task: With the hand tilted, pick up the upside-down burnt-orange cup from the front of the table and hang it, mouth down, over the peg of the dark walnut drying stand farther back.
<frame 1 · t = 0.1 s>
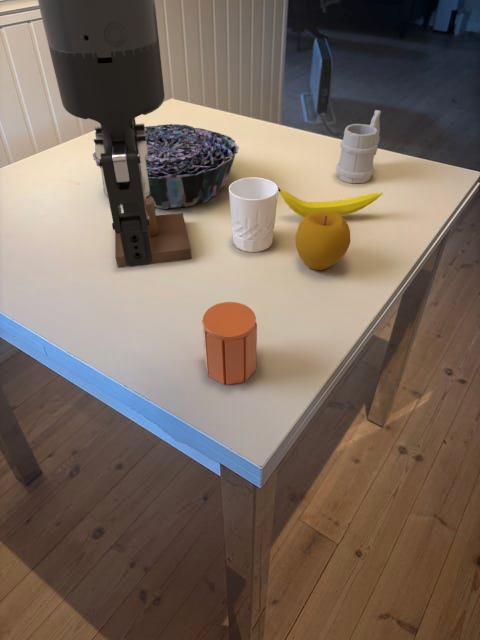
hand: (137, 237, 44), 22 cm above the table, tool pointing down, fingers open, 8 cm apart
banana: (326, 219, 90), on the table
white cup: (252, 242, 84), on the table
orange cup: (230, 365, 62), on the table
mug: (358, 174, 104), on the table
apple: (319, 266, 79), on the table
decorative bowl: (171, 187, 100), on the table
cup stand: (152, 243, 84), on the table
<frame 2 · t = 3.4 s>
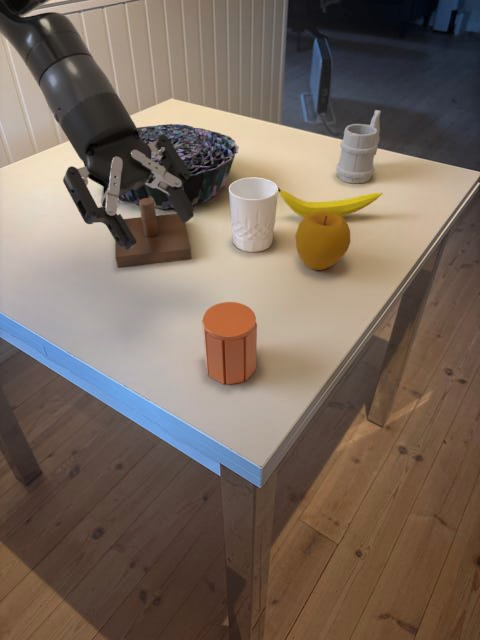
hand: (161, 232, 58), 15 cm above the table, tool tilted 45°, fingers open, 8 cm apart
nothing on the table moved.
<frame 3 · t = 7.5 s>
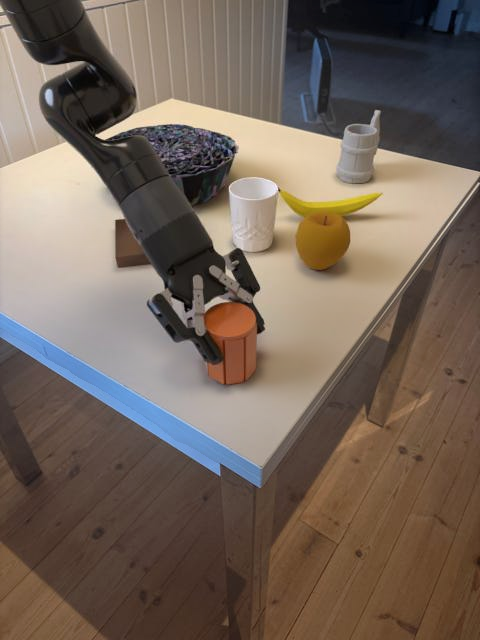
hand: (239, 347, 58), 4 cm above the table, tool tilted 45°, fingers closed on orange cup, 6 cm apart
orange cup: (230, 365, 62), on the table, touching gripper
everything else where it was.
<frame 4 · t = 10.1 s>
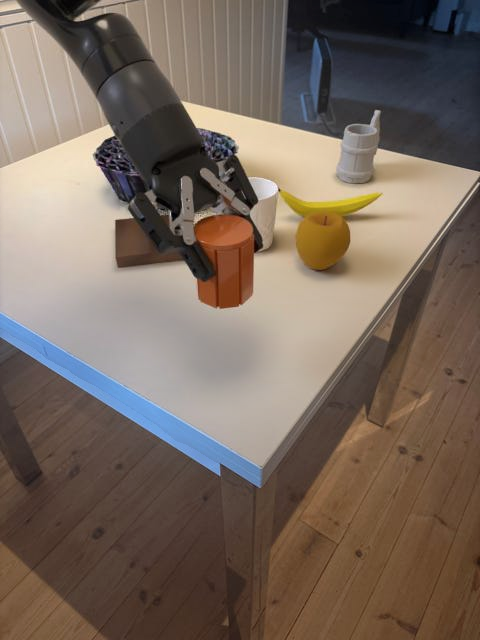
hand: (234, 264, 51), 16 cm above the table, tool tilted 45°, fingers closed on orange cup, 6 cm apart
orange cup: (224, 290, 55), point 11 cm above the table, touching gripper
everything else where it was.
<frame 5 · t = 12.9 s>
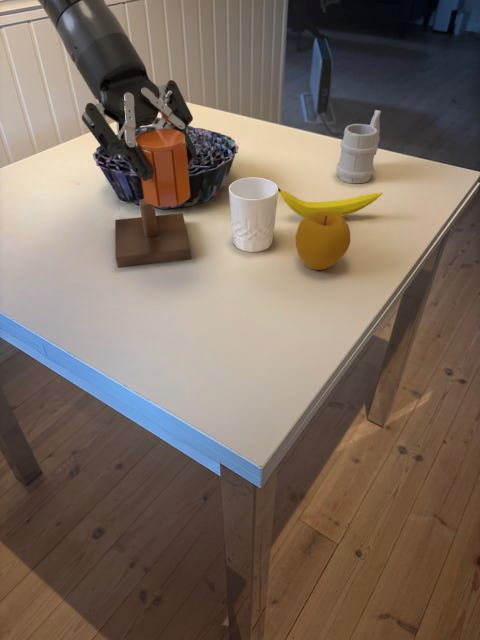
hand: (171, 168, 63), 19 cm above the table, tool tilted 45°, fingers closed on orange cup, 6 cm apart
orange cup: (167, 195, 67), point 14 cm above the table, touching gripper
everything else where it was.
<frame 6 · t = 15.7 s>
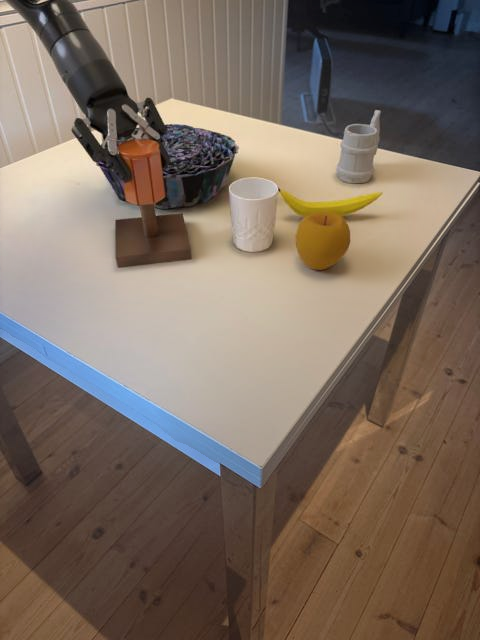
hand: (148, 172, 74), 13 cm above the table, tool tilted 45°, fingers closed on orange cup, 6 cm apart
orange cup: (145, 195, 78), point 9 cm above the table, touching gripper
everything else where it was.
when the fingers open (6 cm above the table, at t = 18.2 s): orange cup stays where it is, resting on cup stand.
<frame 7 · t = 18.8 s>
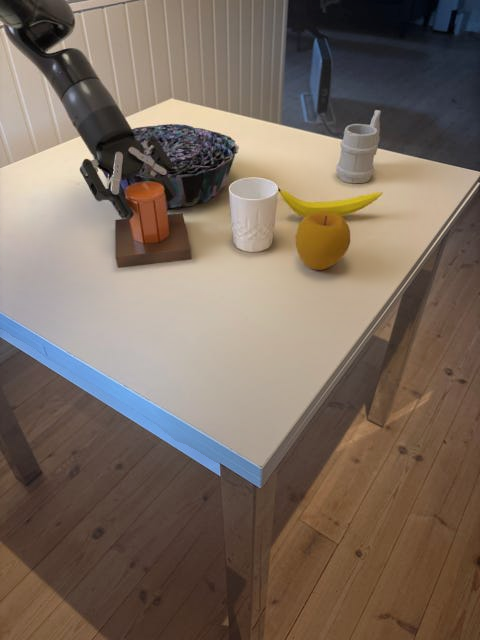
hand: (152, 208, 78), 7 cm above the table, tool tilted 45°, fingers open, 8 cm apart
orange cup: (151, 233, 82), point 2 cm above the table, touching cup stand
everything else where it was.
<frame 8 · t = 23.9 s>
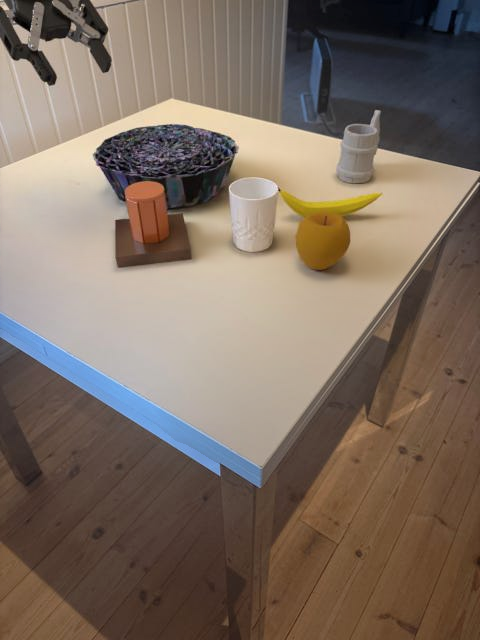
hand: (81, 75, 67), 27 cm above the table, tool tilted 45°, fingers open, 8 cm apart
nothing on the table moved.
at the end: orange cup 0.0 cm off-centre on the cup stand, point 2.0 cm above the cup stand's base; orange cup tilted 0°; the gripper is holding nothing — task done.
